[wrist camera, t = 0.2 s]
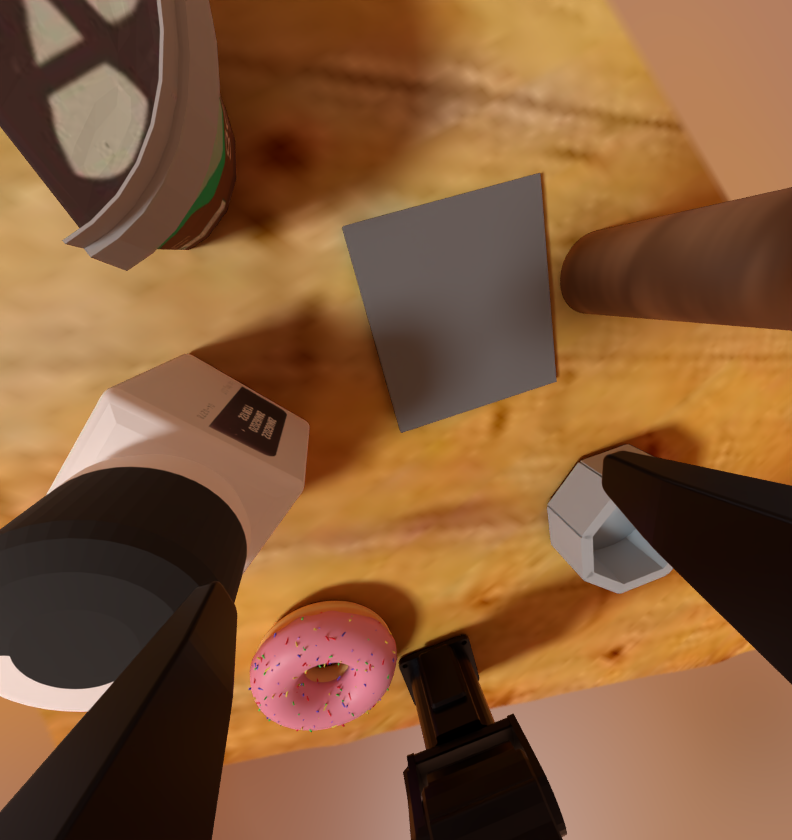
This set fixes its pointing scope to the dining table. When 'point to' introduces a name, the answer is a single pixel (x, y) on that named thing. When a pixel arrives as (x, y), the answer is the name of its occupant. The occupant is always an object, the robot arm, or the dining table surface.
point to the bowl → (600, 532)
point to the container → (140, 526)
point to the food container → (120, 118)
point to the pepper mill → (691, 266)
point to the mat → (458, 299)
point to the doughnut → (330, 685)
